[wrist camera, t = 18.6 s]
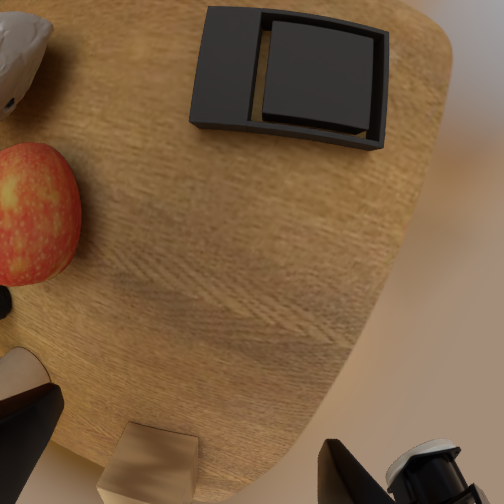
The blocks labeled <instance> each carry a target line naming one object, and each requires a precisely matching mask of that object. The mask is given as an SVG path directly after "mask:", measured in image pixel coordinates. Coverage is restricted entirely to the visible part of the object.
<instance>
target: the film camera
mask: <svg viewBox="0 0 504 504" xmlns="http://www.w3.org/2000/svg"><path fill="white" fill-rule="evenodd" d="M10 309H11V299H10V295H9V292H8V290H7V288H6V287H5V286H3V285H0V320H1V319H3V318H5V317H6V316H7V314H8V313H9V312H10Z"/></svg>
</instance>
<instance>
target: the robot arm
mask: <svg viewBox="0 0 504 504" xmlns="http://www.w3.org/2000/svg"><path fill="white" fill-rule="evenodd" d="M63 409H64V399H63V396H62V392H61V388H60V387H59V386H58V385H56V384H54V383H51V382H48V383H45V384H43V385H40V386H38V387H35V388H32V389H30V390H27V391H24V392H22V393H19V394H16V395H14V396H11V397H8V398H6V399H3V400H0V504H15V503H16V501H17V499H18V497H19V495H20V493H21V491H22V489H23V487H24V486H25V484H26V482H27V480H28V478H29V476H30V474H31V473H32V471H33V469H34V467H35V465H36V463H37V461H38V460H39V458H40V456H41V454H42V453H43V451H44V449H45V447H46V446H47V444H48V442H49V440H50V438H51V436H52V434H53V431H54V429H55V427H56V425H57V422H58V420H59V418H60V415H61V413H62V411H63ZM460 451H461V449H460V447H454V448H449V449H445V450H439V451H434V452H428V453H422V454H416V455H413V456H411V457H410V458H409V459H408V461H407V462H406V464H405V465H404V466H403V468H402V469H401V471H400V472H399V474H398V475H397V477H396V478H395V479H394V481H393V482H392V483H391V485H390V486H389V487H388V489H387V492H388V493H393V495H394V499H395V501H394V500H393V499H392V498H391V497H390V496H389V495H388V494H387V493H386V492H385V491H384V490H383V489H382V487H381V486H380V485H379V484H378V483H377V482H376V481H375V480H374V479H373V478H372V476H370V474H369V473H368V472H367V471H366V470H365V469H364V468H363V466H362V465H361V464H360V463H359V462H358V461H357V460H356V459H355V457H354V456H353V455H352V454H351V453H350V452H349V451H348V449H346V447H345V446H344V445H343V444H342V443H341V442H340V440H338V439H326V440H325V441H324V443H323V446H322V448H321V450H320V452H319V455H318V504H474V503H476V504H490V503H489V501H488V499H487V498H486V496H485V494H484V492H483V491H482V490H481V489H480V488H479V487H478V486H477V485H475V484H474V483H473V484H471V485H470V486H469V487H468V485H467V483H466V481H465V479H464V477H463V476H462V474H461V472H460V470H459V468H458V466H457V464H456V462H455V458H456V457H457V456H458V454H459V453H460Z"/></svg>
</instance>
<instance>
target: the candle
mask: <svg viewBox="0 0 504 504" xmlns="http://www.w3.org/2000/svg"><path fill="white" fill-rule="evenodd" d="M48 382H50V379H49V376H48V374H47V372H46V370H45V368H44V367H43V365H42V364H41V363H40V361H39V360H38V359H37V358H36V357H35V356H34V355H33V354H32V353H30V352H29V351H27V350H26V349H24V348H21V347H15V348H13V349H11V350H10V351H9V352H7V353H6V354H5V355H4V356H3V357H1V358H0V400H3V399H6V398H8V397H11V396H14V395H16V394H19V393H22V392H24V391H27V390H30V389H32V388H35V387H38V386H40V385H43V384H45V383H48Z"/></svg>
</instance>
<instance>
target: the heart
mask: <svg viewBox="0 0 504 504" xmlns="http://www.w3.org/2000/svg"><path fill="white" fill-rule="evenodd" d="M53 31H54V28H53V24H52V23H51V22H50V21H48V20H46V19H43V18H41V17H39V16H36V15H35V14H31V13H30V14H28V13H24V12H20V11H19V12H16V11H9V12H2V13H0V122H1V121H2V120H3V119H5V118H6V117H7V116H8V115H9V114H10V113H11V112H12V111H14V109H15V107H16V105H17V103H18V102H20V101H22V98H23V96H24V95H25V93H26V92H27V91H28V90H29V88H30V86H31V84H32V81H33V78H34V76H35V74H36V72H37V70H38V68H39V66H40V63H41V61H42V58H43V56H44V53H45V49H46V46H47V43H48V41H49V38H50V36H51V34H52V32H53ZM91 55H92V54H91ZM87 61H88V60H87Z"/></svg>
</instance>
